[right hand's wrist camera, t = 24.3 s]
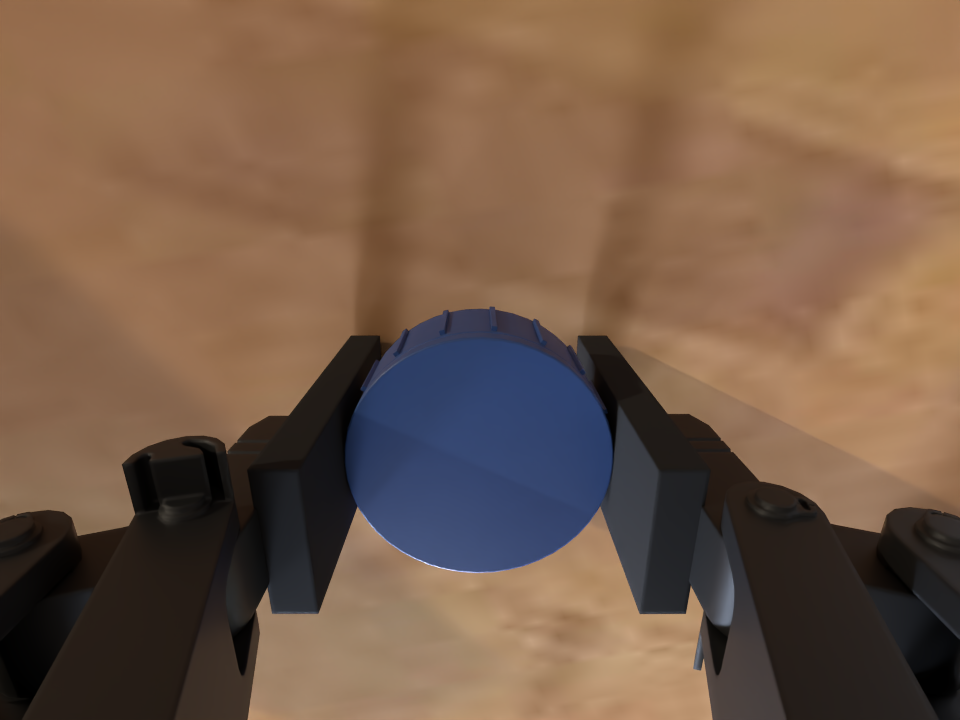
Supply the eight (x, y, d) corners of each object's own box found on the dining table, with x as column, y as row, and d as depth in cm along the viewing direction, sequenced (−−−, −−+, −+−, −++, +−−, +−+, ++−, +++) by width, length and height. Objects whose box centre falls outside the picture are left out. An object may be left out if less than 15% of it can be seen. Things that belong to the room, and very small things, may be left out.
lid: (313, 395, 12) (281, 439, 10) (506, 254, 11) (513, 272, 9) (455, 549, 13) (452, 614, 11) (637, 438, 12) (668, 489, 10)
